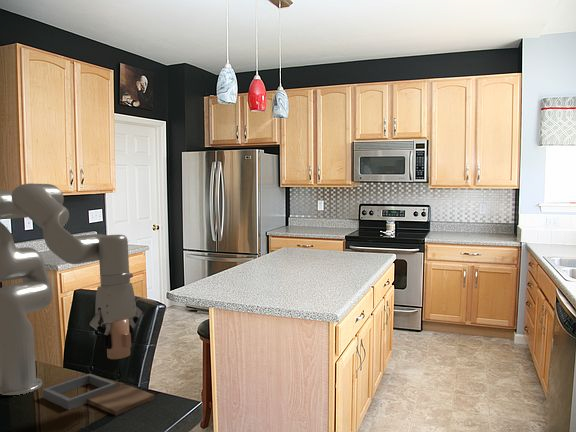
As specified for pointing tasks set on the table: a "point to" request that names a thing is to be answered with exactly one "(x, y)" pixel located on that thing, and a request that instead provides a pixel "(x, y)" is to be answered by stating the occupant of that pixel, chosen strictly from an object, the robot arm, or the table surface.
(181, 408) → the table surface
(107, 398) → the board
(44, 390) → the holder frame
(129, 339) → the tan tapered capsule
